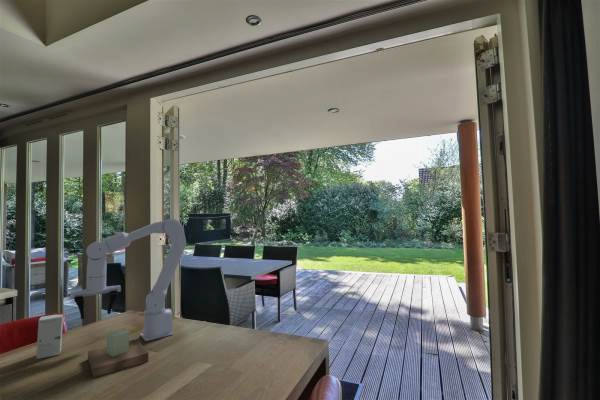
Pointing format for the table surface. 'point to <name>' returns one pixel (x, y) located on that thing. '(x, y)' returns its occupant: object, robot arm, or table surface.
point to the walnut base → (116, 359)
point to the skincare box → (49, 336)
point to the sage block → (117, 342)
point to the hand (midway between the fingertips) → (95, 315)
